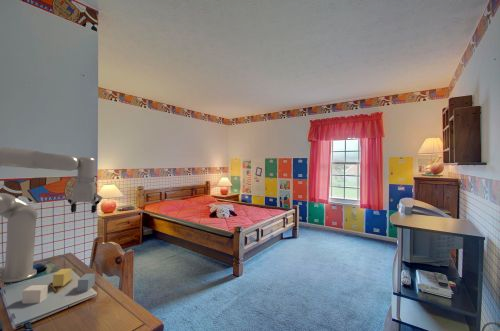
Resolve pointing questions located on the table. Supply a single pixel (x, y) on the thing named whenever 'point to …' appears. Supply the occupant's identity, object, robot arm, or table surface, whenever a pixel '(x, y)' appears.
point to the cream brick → (35, 294)
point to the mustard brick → (61, 277)
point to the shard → (57, 288)
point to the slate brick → (86, 282)
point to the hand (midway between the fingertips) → (83, 212)
